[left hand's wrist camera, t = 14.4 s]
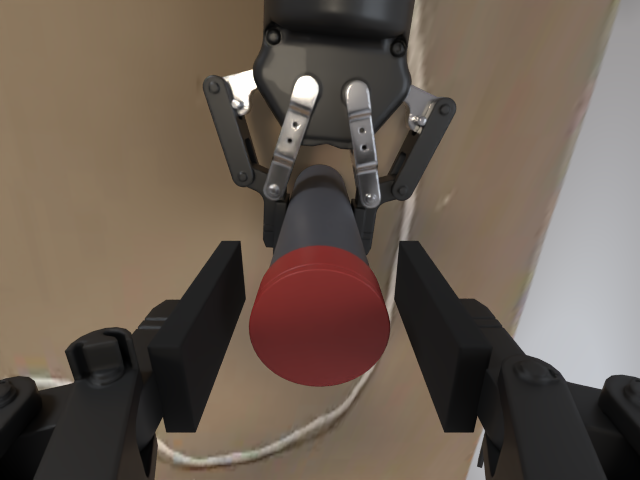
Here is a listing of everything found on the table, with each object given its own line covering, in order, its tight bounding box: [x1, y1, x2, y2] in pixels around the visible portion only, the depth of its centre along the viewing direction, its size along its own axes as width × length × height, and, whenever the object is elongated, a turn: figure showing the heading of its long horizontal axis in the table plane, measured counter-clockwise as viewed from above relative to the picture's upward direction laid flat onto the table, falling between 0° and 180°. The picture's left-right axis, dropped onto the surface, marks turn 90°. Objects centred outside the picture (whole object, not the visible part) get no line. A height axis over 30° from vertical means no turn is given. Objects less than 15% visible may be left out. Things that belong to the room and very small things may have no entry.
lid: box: [249, 245, 390, 387], centre depth 11 cm, size 4×4×2 cm
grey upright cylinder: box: [270, 165, 370, 268], centre depth 19 cm, size 4×4×18 cm
